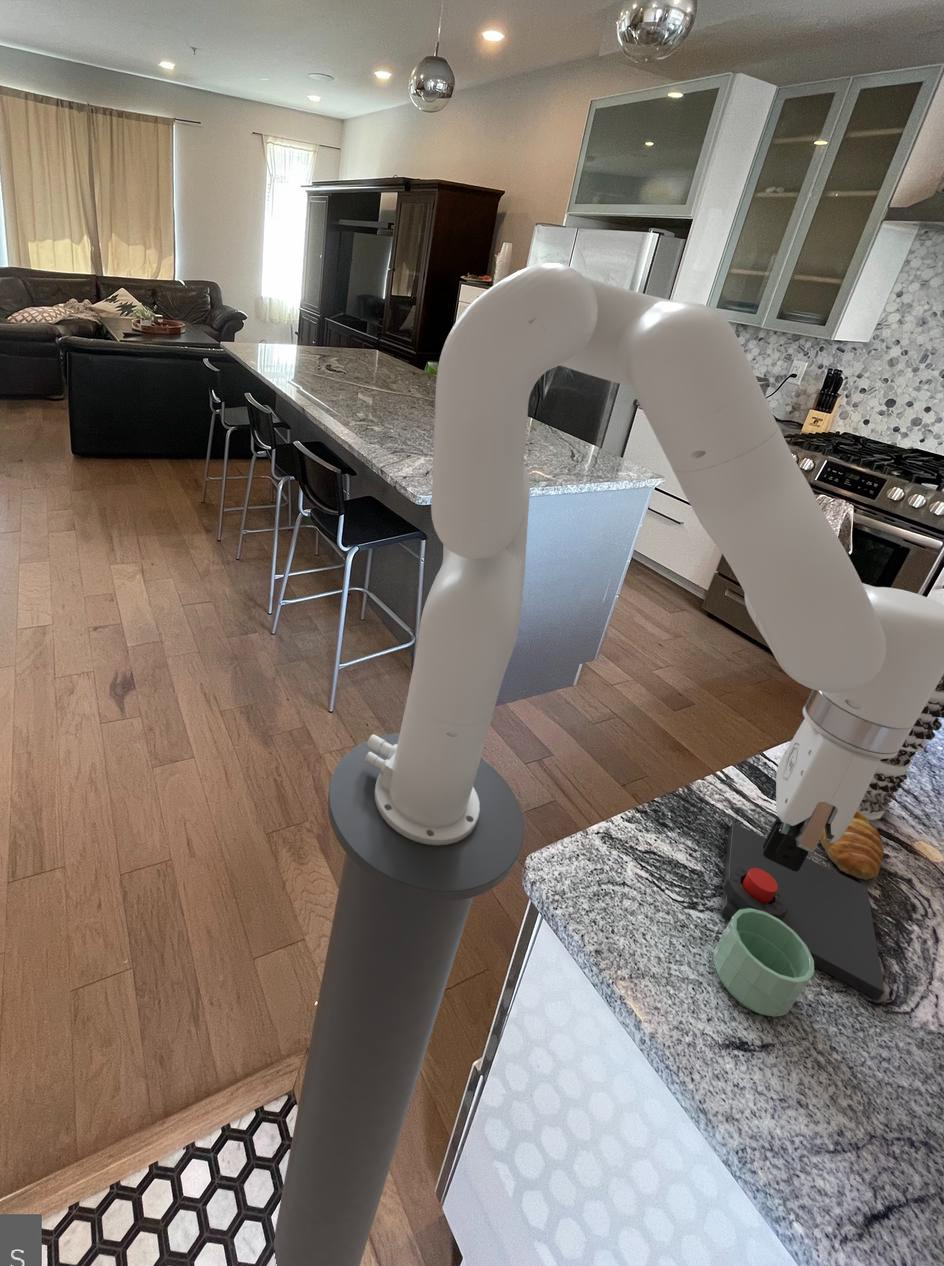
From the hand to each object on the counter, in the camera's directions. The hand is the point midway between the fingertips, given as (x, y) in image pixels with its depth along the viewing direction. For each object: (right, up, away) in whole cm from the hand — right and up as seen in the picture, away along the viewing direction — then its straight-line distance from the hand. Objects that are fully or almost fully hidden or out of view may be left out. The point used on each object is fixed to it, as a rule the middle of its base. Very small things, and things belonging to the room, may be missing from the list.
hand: (779, 858), depth 65 cm
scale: (+4, -7, +4) cm, 10 cm away
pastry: (+17, -6, +13) cm, 22 cm away
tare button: (-1, -5, +2) cm, 5 cm away
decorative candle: (+24, -3, +22) cm, 33 cm away
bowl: (-6, -9, -5) cm, 12 cm away
